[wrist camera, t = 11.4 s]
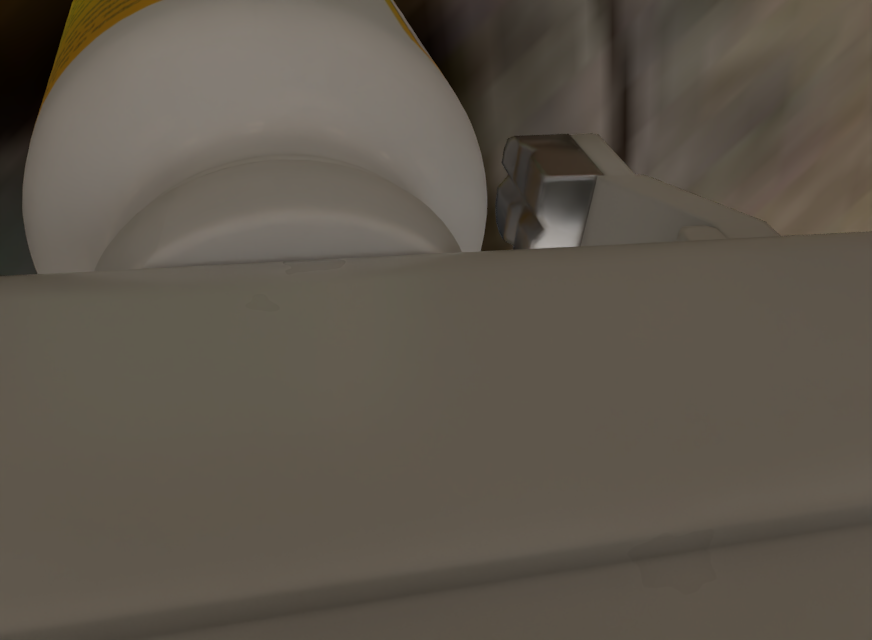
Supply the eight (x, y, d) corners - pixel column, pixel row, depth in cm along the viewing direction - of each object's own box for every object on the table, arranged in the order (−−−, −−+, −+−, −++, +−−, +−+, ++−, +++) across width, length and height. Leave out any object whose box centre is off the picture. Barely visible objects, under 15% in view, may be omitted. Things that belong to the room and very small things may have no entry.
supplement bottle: (39, 78, 19) (-121, 519, 9) (152, -211, 16) (100, -35, 6) (298, 191, 22) (390, 603, 12) (428, -32, 19) (682, 267, 9)
